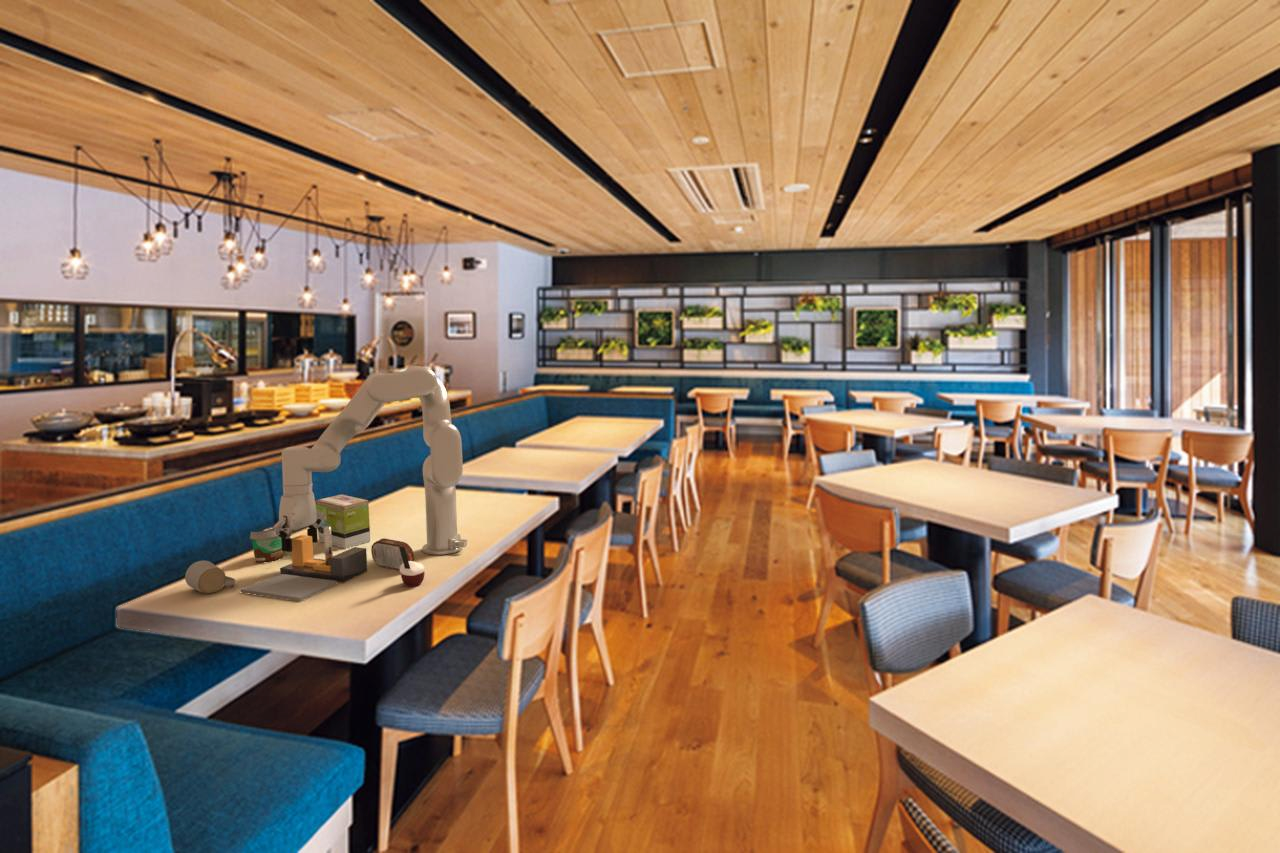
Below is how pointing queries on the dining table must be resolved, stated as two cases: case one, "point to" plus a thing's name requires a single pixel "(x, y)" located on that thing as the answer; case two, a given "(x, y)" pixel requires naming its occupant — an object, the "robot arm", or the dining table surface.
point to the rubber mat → (289, 587)
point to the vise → (333, 563)
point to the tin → (390, 553)
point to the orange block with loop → (306, 554)
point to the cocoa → (411, 570)
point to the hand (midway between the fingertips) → (300, 546)
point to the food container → (266, 545)
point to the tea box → (344, 520)
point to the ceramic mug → (207, 577)
